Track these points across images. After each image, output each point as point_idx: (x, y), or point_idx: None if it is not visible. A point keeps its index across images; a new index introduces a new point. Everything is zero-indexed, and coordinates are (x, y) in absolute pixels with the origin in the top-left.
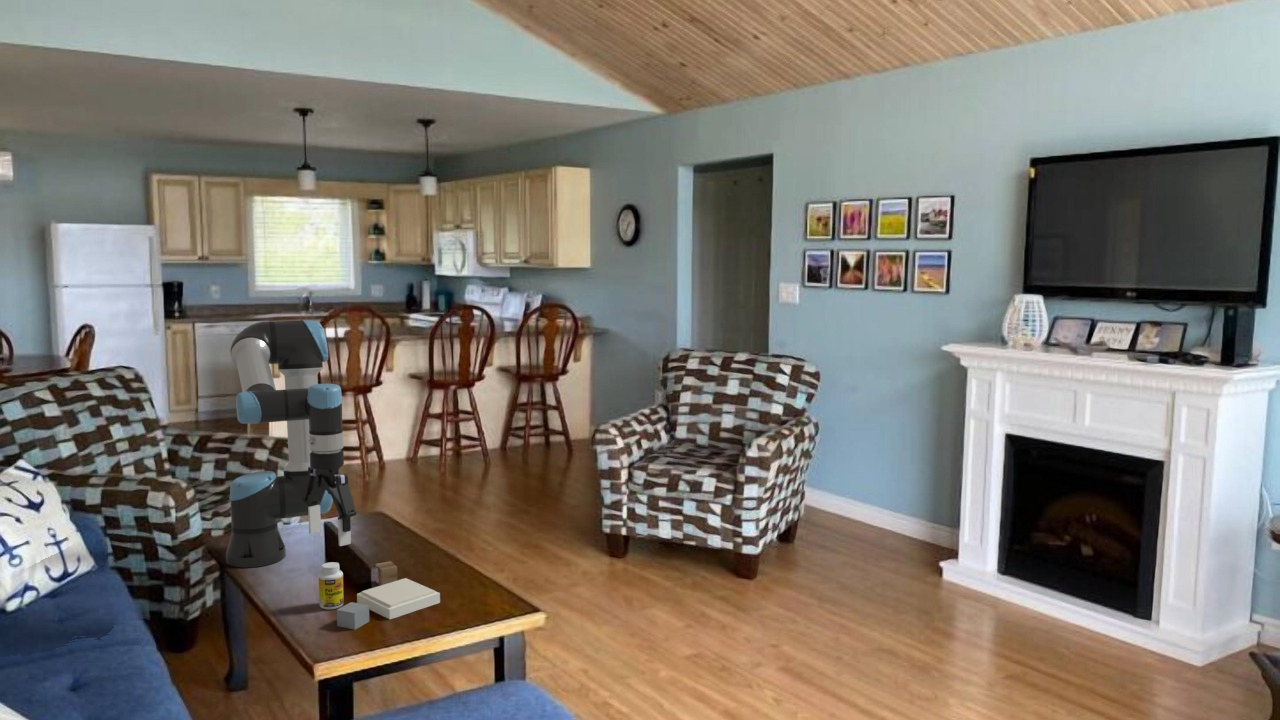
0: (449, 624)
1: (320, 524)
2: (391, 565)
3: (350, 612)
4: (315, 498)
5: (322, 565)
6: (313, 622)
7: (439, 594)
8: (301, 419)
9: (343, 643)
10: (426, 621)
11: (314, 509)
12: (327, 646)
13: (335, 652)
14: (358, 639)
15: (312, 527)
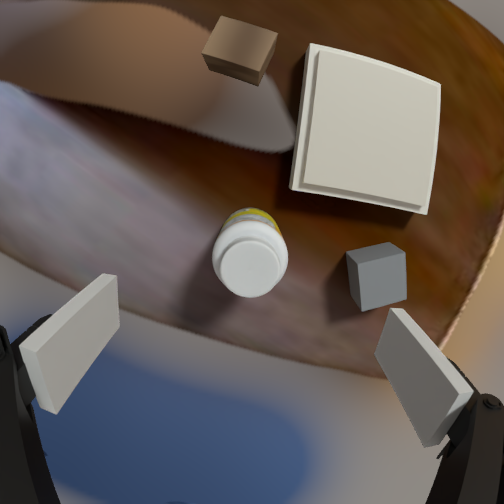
0: (496, 168)
1: (100, 292)
2: (253, 34)
3: (396, 301)
4: (35, 443)
5: (233, 290)
6: (295, 313)
7: (439, 85)
8: None
9: None
10: (467, 178)
11: (56, 376)
12: None
13: None
14: (421, 305)
15: (107, 332)
